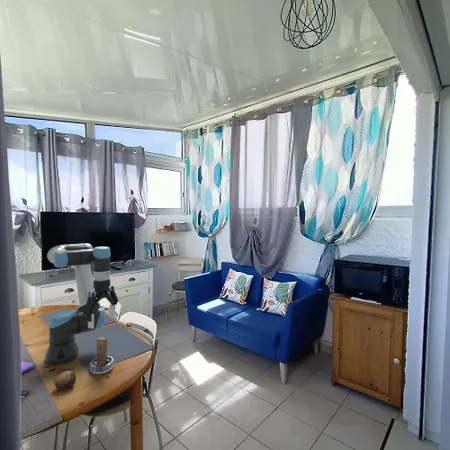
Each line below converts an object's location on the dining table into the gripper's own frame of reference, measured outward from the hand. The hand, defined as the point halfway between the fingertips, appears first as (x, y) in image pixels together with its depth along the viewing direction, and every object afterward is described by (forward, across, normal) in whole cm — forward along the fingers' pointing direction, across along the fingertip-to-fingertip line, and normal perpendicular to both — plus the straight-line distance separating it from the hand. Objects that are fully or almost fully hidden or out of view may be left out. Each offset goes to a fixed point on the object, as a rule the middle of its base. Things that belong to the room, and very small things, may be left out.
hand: (101, 322), depth 134 cm
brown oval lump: (+23, -17, +4) cm, 29 cm away
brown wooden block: (+22, 0, 0) cm, 22 cm away
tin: (+23, 0, 0) cm, 23 cm away
